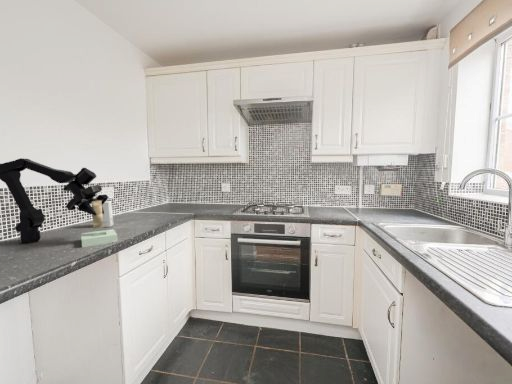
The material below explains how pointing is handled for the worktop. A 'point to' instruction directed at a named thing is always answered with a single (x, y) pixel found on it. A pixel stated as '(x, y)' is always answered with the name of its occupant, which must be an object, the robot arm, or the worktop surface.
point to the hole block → (98, 237)
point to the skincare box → (107, 214)
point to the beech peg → (98, 218)
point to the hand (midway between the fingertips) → (99, 214)
